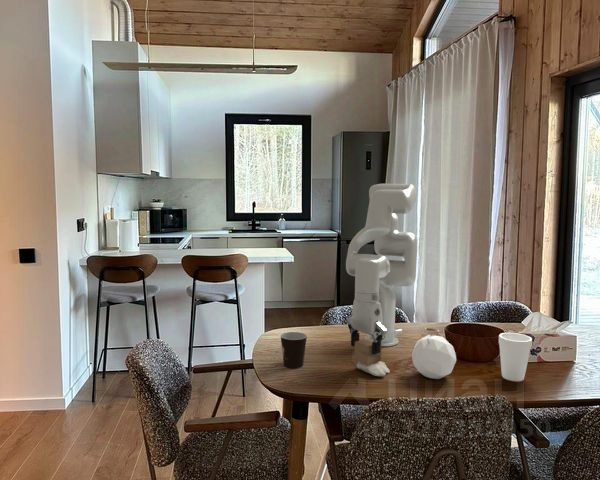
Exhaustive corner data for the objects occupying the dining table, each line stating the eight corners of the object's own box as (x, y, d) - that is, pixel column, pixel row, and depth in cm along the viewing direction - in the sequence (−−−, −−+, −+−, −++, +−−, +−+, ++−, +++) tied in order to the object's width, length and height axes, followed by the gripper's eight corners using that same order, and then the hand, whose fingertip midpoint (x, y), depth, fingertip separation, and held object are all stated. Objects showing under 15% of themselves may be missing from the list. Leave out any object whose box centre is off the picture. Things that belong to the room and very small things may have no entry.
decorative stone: (390, 381, 153) (386, 368, 168) (392, 369, 153) (388, 357, 168) (355, 375, 154) (354, 362, 169) (357, 363, 154) (356, 351, 169)
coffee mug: (303, 370, 160) (304, 340, 159) (277, 368, 161) (277, 338, 160) (310, 358, 171) (310, 330, 170) (285, 356, 173) (286, 328, 172)
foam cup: (526, 385, 150) (529, 343, 148) (494, 379, 155) (496, 338, 153) (531, 375, 158) (533, 335, 156) (500, 369, 163) (502, 330, 161)
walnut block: (367, 356, 165) (368, 338, 164) (381, 361, 160) (381, 342, 159) (354, 359, 161) (354, 341, 161) (367, 364, 156) (367, 346, 156)
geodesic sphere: (450, 373, 143) (456, 329, 150) (403, 365, 149) (411, 323, 156) (455, 388, 154) (461, 346, 161) (411, 380, 161) (419, 340, 167)
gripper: (395, 300, 153) (393, 354, 155) (356, 290, 167) (355, 340, 169) (377, 304, 149) (376, 359, 151) (339, 293, 163) (338, 344, 165)
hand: (365, 349), depth 160 cm, fingers open, 9 cm apart
